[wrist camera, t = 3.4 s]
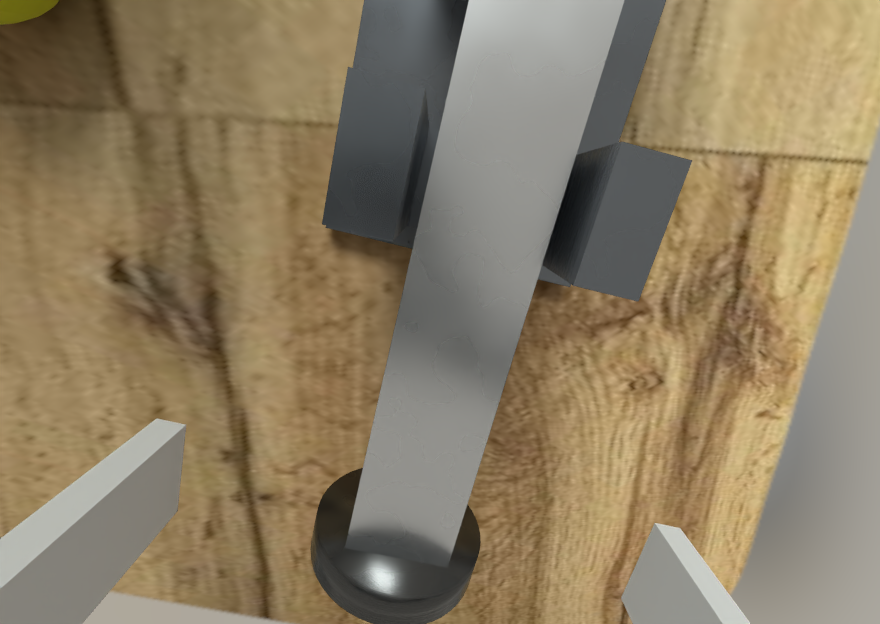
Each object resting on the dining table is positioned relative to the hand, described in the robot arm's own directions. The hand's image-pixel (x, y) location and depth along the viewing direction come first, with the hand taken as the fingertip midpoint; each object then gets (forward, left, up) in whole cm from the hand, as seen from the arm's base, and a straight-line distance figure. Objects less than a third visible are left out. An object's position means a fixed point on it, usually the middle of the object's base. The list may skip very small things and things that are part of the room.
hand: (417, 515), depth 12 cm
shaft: (0, +12, -5) cm, 13 cm away
